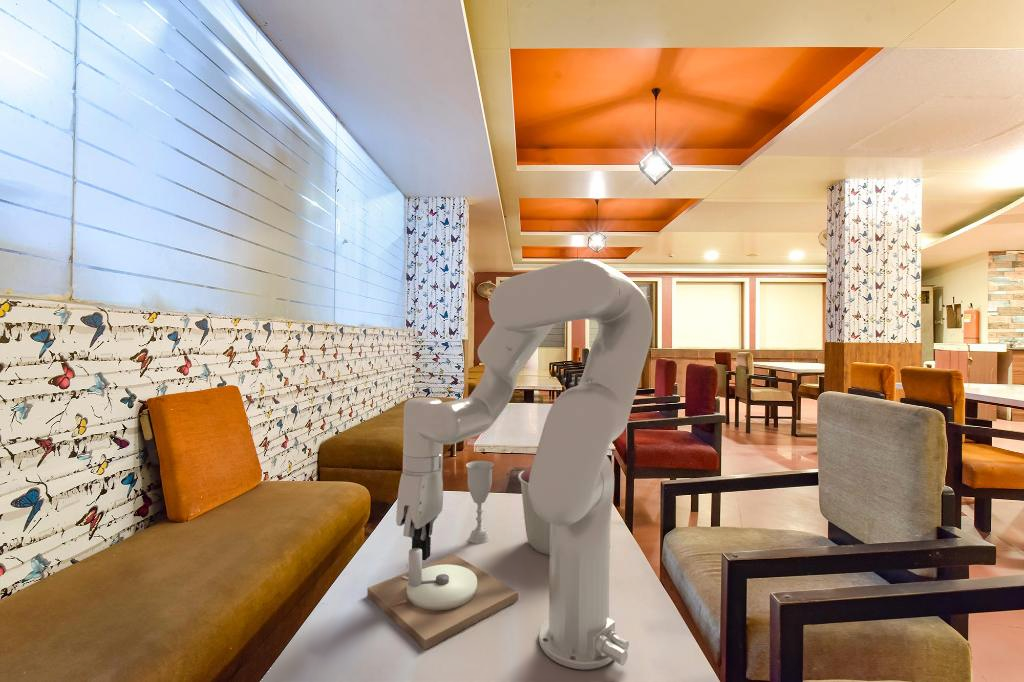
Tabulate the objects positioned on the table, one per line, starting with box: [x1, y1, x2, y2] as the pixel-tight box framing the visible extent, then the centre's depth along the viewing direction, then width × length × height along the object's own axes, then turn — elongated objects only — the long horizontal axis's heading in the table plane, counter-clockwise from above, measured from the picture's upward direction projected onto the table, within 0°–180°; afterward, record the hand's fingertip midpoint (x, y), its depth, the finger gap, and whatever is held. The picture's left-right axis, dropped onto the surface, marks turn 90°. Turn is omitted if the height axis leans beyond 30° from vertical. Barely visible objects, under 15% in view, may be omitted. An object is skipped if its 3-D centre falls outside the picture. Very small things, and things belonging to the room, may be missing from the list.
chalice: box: [465, 460, 495, 545], centre depth 110 cm, size 7×7×18 cm
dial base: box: [366, 553, 519, 650], centre depth 85 cm, size 20×20×2 cm
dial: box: [407, 548, 477, 610], centre depth 85 cm, size 13×13×8 cm
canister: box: [517, 465, 551, 556], centre depth 107 cm, size 18×18×21 cm
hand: (420, 557), depth 87 cm, fingers closed
